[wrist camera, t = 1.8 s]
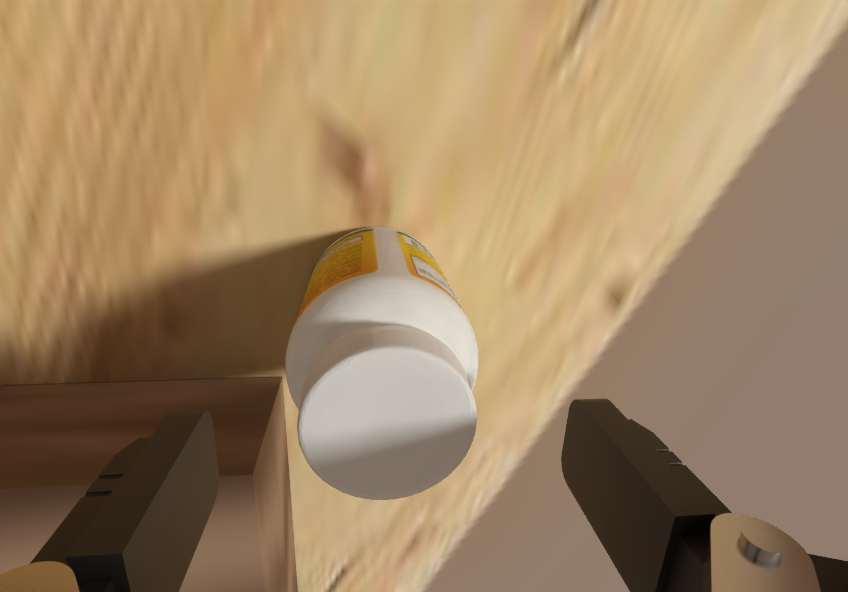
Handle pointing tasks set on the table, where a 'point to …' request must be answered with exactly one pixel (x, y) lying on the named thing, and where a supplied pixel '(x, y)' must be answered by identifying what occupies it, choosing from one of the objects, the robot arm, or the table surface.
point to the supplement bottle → (382, 368)
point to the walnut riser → (139, 418)
